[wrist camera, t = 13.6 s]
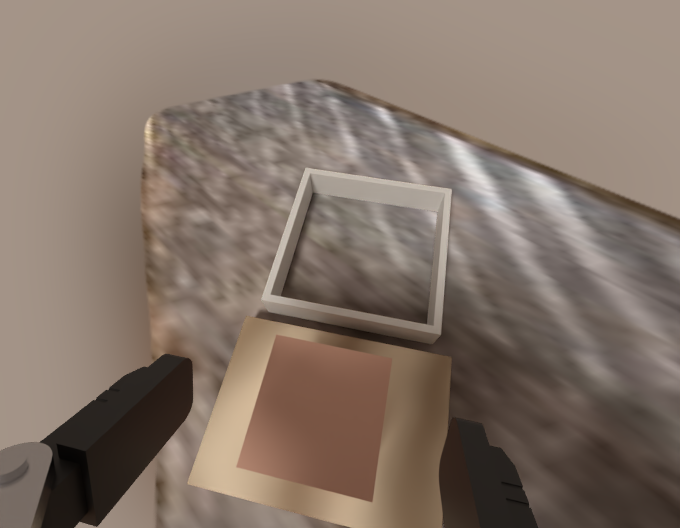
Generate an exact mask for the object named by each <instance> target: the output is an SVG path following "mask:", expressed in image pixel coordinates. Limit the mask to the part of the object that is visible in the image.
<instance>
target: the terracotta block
mask: <svg viewBox="0 0 680 528" xmlns="http://www.w3.org/2000/svg"><path fill="white" fill-rule="evenodd" d="M391 364H392V358H387V357H382V356H378V355H373V354H368V353H363V352H358V351H354V350H349V349H344V348H339V347H334V346H330V345H325V344H320V343H315V342H310V341H306V340H301V339H296V338H291V337H286V336H282V335H277V334H276V337H275V341H274V344H273V347H272V350H271V354H270V357H269V360H268V364H267V367H266V370H265V374H264V377H263V380H262V383H261V387H260V390H259V393H258V397H257V400H256V403H255V407H254V410H253V413H252V416H251V420H250V423H249V426H248V430H247V433H246V436H245V439H244V443H243V446H242V449H241V453H240V456H239V459H238V463H237V466H236V467H237V468H241V469H245V470H249V471H253V472H257V473H260V474H264V475H268V476H272V477H276V478H280V479H284V480H287V481H291V482H295V483H299V484H303V485H307V486H311V487H315V488H318V489H322V490H326V491H330V492H334V493H338V494H342V495H346V496H349V497H353V498H357V499H361V500H365V501H369V502H372V501H373V494H374V487H375V480H376V472H377V465H378V458H379V451H380V444H381V436H382V429H383V422H384V415H385V408H386V400H387V393H388V386H389V379H390V372H391Z"/></svg>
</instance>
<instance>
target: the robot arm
mask: <svg viewBox="0 0 680 528" xmlns="http://www.w3.org/2000/svg"><path fill="white" fill-rule="evenodd" d="M192 403H193V370H192V361H191V360H190V359H189V358H184V357H180V356H175V355H170V354H164V355H162V356H161V357H160V358H159V359H157V360H156V361H155V362H154V363H153V364H151V365H150V366H149V367H142V368H140V369H137V370H136V371H133V372H131V373H129V374H127V375H125V376H123V377H122V378H121V379H120V380H118V381H117V382H116V383H115V384H113V385H112V386H111V387H110V388H109V390H106V391H104V392H103V393H102V394H101V395H99V396H98V397H97V399H96V400H93V401H92V402H90V403H89V404H88V405H87V406H85V407H84V408H83V409H81V410H80V411H79V412H78V413H76V414H75V415H74V416H73V417H71V418H70V419H69V420H68V421H67V422H65V423H64V424H62V425H61V426H60V427H59V428H57V429H56V430H55V431H54V432H52V433H51V434H50V435H48V436H47V437H46V438H45V439H44V440H42V441H41V442H29V443H22V444H18V445H14V446H11V447H8V448H5V449H3V450H1V451H0V528H74V527H75V526H76V525H77V524H78V523H79V522H83V523H86V524H89V525H93V526H96V527H97V526H98V525H99V524H100V523H101V522H102V520H103V519H104V518H105V517H106V515H107V514H108V513H109V512H110V511H111V509H112V508H113V507H114V506H115V505H116V503H117V502H118V501H119V500H120V498H121V497H122V496H123V495H124V494H125V492H126V491H127V490H128V489H129V488H130V486H131V485H132V484H133V483H134V481H135V480H136V479H137V478H138V477H139V475H140V474H141V473H142V471H143V470H144V469H145V468H146V467H147V466H148V464H149V463H150V462H151V461H152V460H153V458H154V457H155V456H156V455H157V453H158V452H159V451H160V450H161V449H162V447H163V446H164V445H165V444H166V442H167V441H168V440H169V439H170V438H171V436H172V435H173V434H174V433H175V432H176V430H177V429H178V428H179V427H180V425H181V424H182V423H183V422H184V421H185V419H186V418H187V416H188V414H189V412H190V410H191V407H192ZM439 487H440V495H441V503H442V511H443V519H444V528H538V526H537V523H536V521H535V518H534V515H533V513H532V510H531V508H529V502H528V499H527V497H526V494H525V491H524V490H523V489H522V487H523V486H522V483H521V481H520V478H519V476H518V473H517V470H516V468H515V466H514V464H513V463H512V462H511V461H510V459H509V458H508V457H507V455H506V454H505V453H504V452H503V450H502V449H501V448H498V447H494V446H489V443H488V440H487V437H486V433H485V430H484V427H483V425H482V424H481V423H478V422H473V421H468V420H464V419H459V418H455V417H454V418H453V419H452V420H451V423H450V426H449V430H448V433H447V437H446V440H445V444H444V447H443V451H442V454H441V458H440V464H439Z"/></svg>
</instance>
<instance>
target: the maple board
mask: <svg viewBox="0 0 680 528" xmlns="http://www.w3.org/2000/svg"><path fill="white" fill-rule="evenodd" d="M276 334H277V335H282V336H286V337H291V338H296V339H301V340H306V341H310V342H315V343H320V344H325V345H330V346H334V347H339V348H344V349H349V350H354V351H358V352H363V353H368V354H373V355H378V356H382V357H387V358H392V364H391V372H390V379H389V386H388V393H387V400H386V408H385V415H384V422H383V429H382V436H381V444H380V451H379V458H378V465H377V472H376V480H375V487H374V494H373V501H372V502H369V501H365V500H361V499H357V498H353V497H349V496H346V495H342V494H338V493H334V492H330V491H326V490H322V489H318V488H315V487H311V486H307V485H303V484H299V483H295V482H291V481H287V480H284V479H280V478H276V477H272V476H268V475H264V474H260V473H257V472H253V471H249V470H245V469H241V468H237V467H236V466H237V463H238V459H239V456H240V453H241V449H242V446H243V443H244V439H245V436H246V433H247V430H248V426H249V423H250V420H251V416H252V413H253V410H254V407H255V403H256V400H257V397H258V393H259V390H260V387H261V383H262V380H263V377H264V374H265V370H266V367H267V364H268V360H269V357H270V354H271V350H272V347H273V344H274V341H275V337H276ZM451 362H452V357H449V356H444V355H439V354H434V353H429V352H424V351H419V350H414V349H409V348H404V347H399V346H394V345H389V344H384V343H379V342H374V341H369V340H364V339H359V338H354V337H349V336H344V335H339V334H334V333H329V332H324V331H319V330H314V329H310V328H305V327H300V326H295V325H290V324H285V323H280V322H275V321H270V320H265V319H260V318H255V317H250V316H246V318H245V320H244V323H243V326H242V329H241V332H240V335H239V337H238V340H237V343H236V346H235V349H234V352H233V355H232V357H231V360H230V363H229V366H228V369H227V372H226V374H225V377H224V380H223V383H222V386H221V389H220V392H219V394H218V397H217V400H216V403H215V406H214V409H213V412H212V414H211V417H210V420H209V423H208V426H207V429H206V431H205V434H204V437H203V440H202V443H201V446H200V449H199V451H198V454H197V457H196V460H195V463H194V466H193V468H192V471H191V474H190V477H189V480H188V483H187V484H189V485H193V486H196V487H200V488H204V489H208V490H212V491H215V492H219V493H223V494H227V495H230V496H234V497H238V498H242V499H245V500H249V501H253V502H257V503H260V504H264V505H268V506H272V507H276V508H279V509H283V510H287V511H291V512H294V513H298V514H302V515H306V516H309V517H313V518H317V519H321V520H325V521H328V522H332V523H336V524H340V525H343V526H347V527H351V528H442V520H443V511H442V503H441V495H440V487H439V464H440V458H441V454H442V451H443V447H444V444H445V440H446V437H447V432H448V414H449V397H450V379H451Z"/></svg>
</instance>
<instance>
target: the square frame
mask: <svg viewBox="0 0 680 528" xmlns="http://www.w3.org/2000/svg"><path fill="white" fill-rule="evenodd" d="M451 192H452V189H447V188H440V187H433V186H426V185H420V184H413V183H406V182H399V181H392V180H385V179H379V178H372V177H365V176H358V175H351V174H344V173H338V172H331V171H324V170H317V169H310V168H305V171H304V174H303V177H302V180H301V183H300V186H299V189H298V192H297V195H296V198H295V201H294V204H293V207H292V210H291V213H290V216H289V219H288V222H287V225H286V228H285V231H284V234H283V237H282V239H281V242H280V245H279V248H278V251H277V254H276V257H275V260H274V263H273V266H272V269H271V272H270V275H269V278H268V281H267V284H266V287H265V290H264V293H263V296H262V299H261V300H262V302H263V304H264V305H265V307H266V309H267V310H268V312H270V313H275V314H280V315H285V316H291V317H296V318H301V319H306V320H311V321H316V322H321V323H326V324H331V325H336V326H341V327H346V328H351V329H356V330H361V331H366V332H371V333H376V334H381V335H386V336H391V337H396V338H401V339H406V340H411V341H417V342H422V343H427V344H433V343H434V342H435V341H436V340H437V339H438V338H439V337H440V335H441V328H442V315H443V301H444V287H445V274H446V260H447V246H448V233H449V219H450V206H451ZM313 193H317V194H324V195H330V196H337V197H343V198H350V199H356V200H363V201H369V202H376V203H382V204H389V205H395V206H401V207H408V208H414V209H421V210H427V211H434V212H437V221H436V232H435V243H434V253H433V264H432V274H431V285H430V296H429V306H428V317H427V324H421V323H416V322H411V321H406V320H401V319H395V318H390V317H385V316H380V315H375V314H369V313H364V312H359V311H354V310H349V309H343V308H338V307H333V306H328V305H323V304H317V303H312V302H307V301H302V300H297V299H291V298H286V297H281V293H282V290H283V287H284V284H285V281H286V277H287V274H288V271H289V268H290V264H291V261H292V258H293V255H294V252H295V248H296V245H297V242H298V239H299V236H300V232H301V229H302V226H303V223H304V219H305V216H306V213H307V210H308V207H309V203H310V200H311V197H312V194H313Z"/></svg>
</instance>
